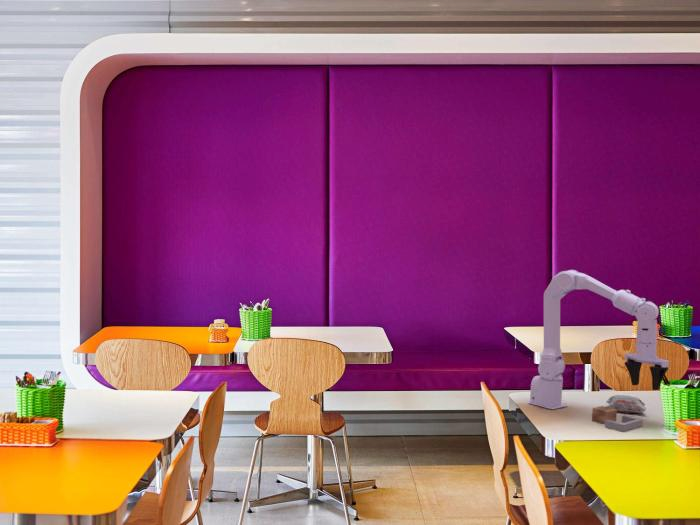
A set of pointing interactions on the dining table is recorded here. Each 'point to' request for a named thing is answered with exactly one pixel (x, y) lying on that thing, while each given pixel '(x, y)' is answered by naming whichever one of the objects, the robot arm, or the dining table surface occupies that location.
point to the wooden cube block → (603, 414)
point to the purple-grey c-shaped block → (624, 423)
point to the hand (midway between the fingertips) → (645, 387)
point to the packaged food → (626, 404)
